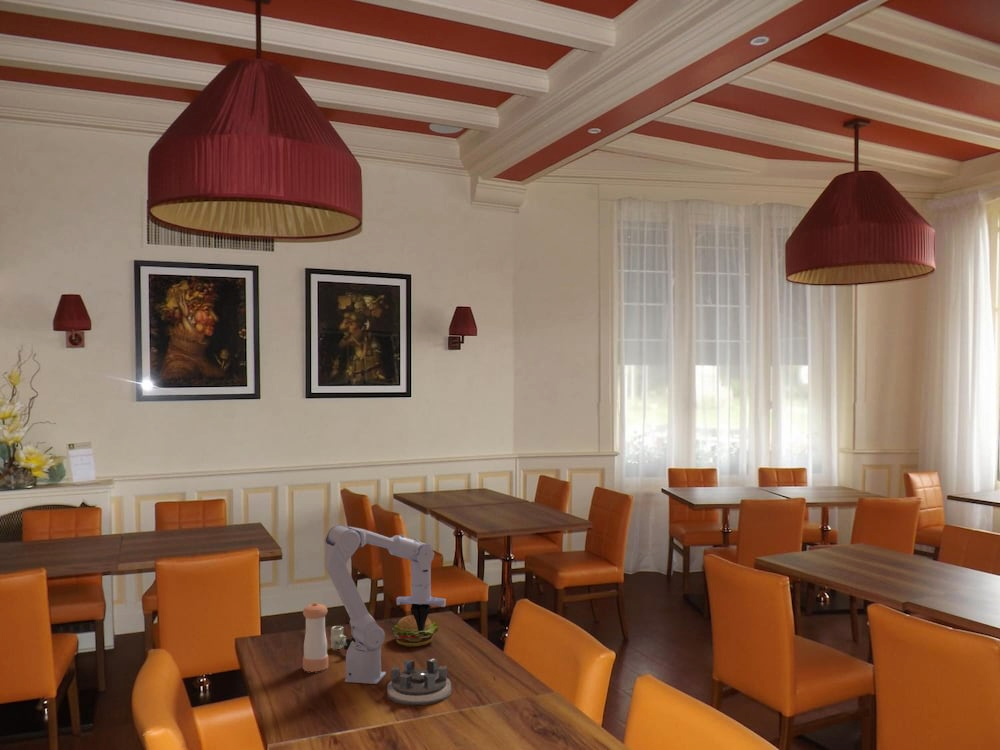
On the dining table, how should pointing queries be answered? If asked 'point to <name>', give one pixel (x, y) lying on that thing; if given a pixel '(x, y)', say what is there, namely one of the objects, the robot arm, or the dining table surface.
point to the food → (413, 632)
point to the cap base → (418, 696)
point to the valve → (340, 639)
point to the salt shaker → (315, 638)
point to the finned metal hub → (419, 678)
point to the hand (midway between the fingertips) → (421, 629)
